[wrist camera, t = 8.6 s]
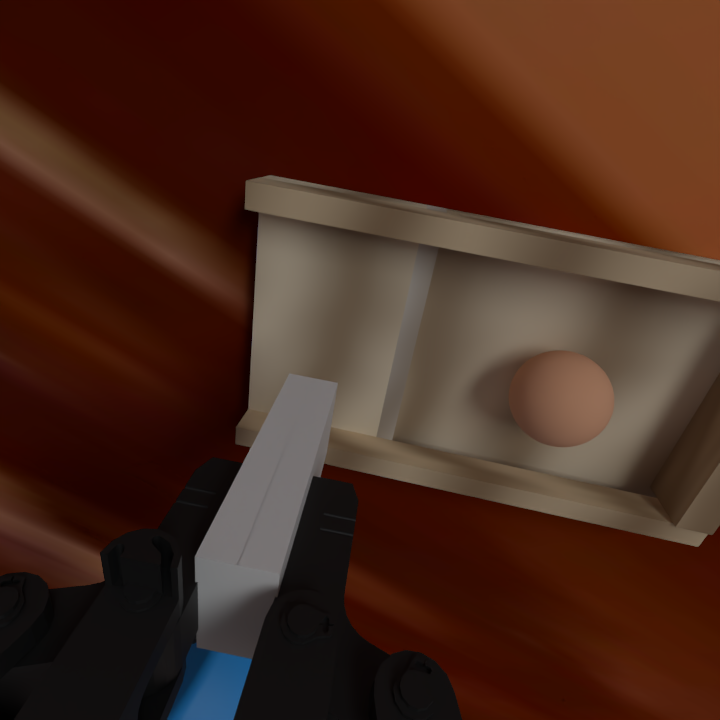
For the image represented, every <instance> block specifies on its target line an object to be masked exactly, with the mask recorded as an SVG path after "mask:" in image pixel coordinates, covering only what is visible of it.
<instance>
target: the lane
mask: <svg viewBox="0 0 720 720" xmlns="http://www.w3.org/2000/svg"><path fill="white" fill-rule="evenodd" d="M245 209H246V210H251V211H256V212H259V221H258V239H257V257H256V276H255V294H254V313H253V331H252V349H251V368H250V386H249V405H248V410H247V412H246V413H245V415H244V416H243V418H242V419H241V421H240V422H239V423H238V425H237V426H236V441H235V444H238V445H243V446H247V447H252V445H253V443H254V441H255V439H256V437H257V435H258V433H259V431H260V429H261V427H262V425H263V424H264V422H265V420H266V418H267V416H268V414H269V412H270V410H271V408H272V406H273V404H274V402H275V400H276V398H277V396H278V394H279V393H280V391H281V389H282V387H283V385H284V383H285V381H286V379H287V377H288V375H289V373H290V374H295V375H300V376H305V377H310V378H315V379H321V380H326V381H331V382H336V383H338V386H337V392H336V398H335V405H334V411H333V417H332V423H331V430H330V436H329V442H328V448H327V454H326V458H325V461H324V464H328V465H333V466H337V467H342V468H346V469H351V470H355V471H360V472H364V473H369V474H373V475H378V476H382V477H387V478H391V479H396V480H400V481H405V482H409V483H414V484H418V485H423V486H427V487H432V488H436V489H441V490H445V491H450V492H454V493H459V494H463V495H468V496H472V497H477V498H481V499H486V500H490V501H495V502H499V503H504V504H508V505H513V506H517V507H522V508H526V509H531V510H535V511H540V512H544V513H549V514H553V515H557V516H562V517H566V518H571V519H575V520H580V521H584V522H589V523H593V524H598V525H602V526H607V527H611V528H616V529H620V530H625V531H629V532H634V533H638V534H643V535H647V536H652V537H656V538H661V539H665V540H670V541H674V542H679V543H683V544H688V545H692V546H697V547H699V545H700V544H701V543H702V541H703V540H704V539H705V537H706V536H707V534H710V535H713V533H714V532H715V531H716V529H717V528H718V527H719V525H720V260H715V259H709V258H704V257H699V256H694V255H688V254H683V253H678V252H672V251H667V250H662V249H657V248H651V247H646V246H641V245H636V244H630V243H625V242H620V241H614V240H609V239H604V238H599V237H593V236H588V235H583V234H578V233H572V232H567V231H562V230H556V229H551V228H546V227H541V226H535V225H530V224H525V223H520V222H514V221H509V220H504V219H498V218H493V217H488V216H483V215H477V214H472V213H467V212H462V211H456V210H451V209H446V208H440V207H435V206H430V205H425V204H419V203H414V202H409V201H404V200H398V199H393V198H388V197H382V196H377V195H372V194H367V193H361V192H356V191H351V190H346V189H340V188H335V187H330V186H324V185H319V184H314V183H309V182H303V181H298V180H293V179H288V178H282V177H277V176H272V175H270V176H265V177H261V178H256V179H252V180H247V181H246V191H245ZM556 350H563V351H571V352H575V353H578V354H581V355H584V356H586V357H588V358H589V359H591V360H592V361H594V362H595V363H596V364H597V365H599V366H600V367H601V368H602V369H603V371H604V372H605V373H606V375H607V376H608V378H609V380H610V382H611V384H612V387H613V391H614V410H613V414H612V416H611V419H610V421H609V423H608V425H607V426H606V427H605V429H604V430H603V431H602V432H601V433H600V434H599V435H598V436H596V437H595V438H593V439H592V440H590V441H588V442H586V443H584V444H581V445H578V446H573V447H554V446H549V445H546V444H543V443H540V442H538V441H536V440H534V439H533V438H531V437H530V436H528V435H527V434H526V433H525V432H524V431H523V430H522V429H521V428H520V427H519V426H518V424H517V423H516V421H515V419H514V417H513V415H512V413H511V410H510V406H509V389H510V384H511V381H512V379H513V377H514V375H515V374H516V372H517V371H518V369H519V368H520V367H521V366H522V365H523V364H524V363H525V362H526V361H528V360H529V359H531V358H532V357H534V356H536V355H539V354H541V353H544V352H549V351H556Z"/></svg>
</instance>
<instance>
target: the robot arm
mask: <svg viewBox="0 0 720 720" xmlns="http://www.w3.org/2000/svg"><path fill="white" fill-rule="evenodd" d="M337 386H338V383H336V382H331V381H326V380H321V379H315V378H310V377H305V376H300V375H295V374H290V373H289V375H288V377H287V379H286V381H285V383H284V385H283V387H282V389H281V391H280V393H279V394H278V396H277V398H276V400H275V402H274V404H273V406H272V408H271V410H270V412H269V414H268V416H267V418H266V420H265V422H264V424H263V425H262V427H261V429H260V431H259V433H258V435H257V437H256V439H255V441H254V443H253V445H252V447H251V449H250V451H249V453H248V454H247V456H246V458H245V460H244V462H243V463H239V462H234V461H229V460H224V459H219V458H214V457H213V458H211V459H210V460H209V461H207V462H206V463H204V464H203V465H202V466H200V467H199V468H198V469H196V470H195V472H194V473H193V475H192V476H191V478H190V480H189V481H188V483H187V484H186V486H185V489H183V490H182V492H181V493H180V495H179V497H178V498H177V501H176V503H174V504H173V506H172V507H171V509H170V511H169V512H168V514H167V515H166V517H165V518H164V520H163V521H162V523H161V524H160V526H159V528H158V529H140V530H136V531H132V532H128V533H126V534H124V535H122V536H120V537H119V538H117V539H115V540H113V541H112V542H111V543H110V544H109V545H108V546H107V547H106V548H104V549H103V550H102V551H101V552H100V555H101V561H102V567H103V573H104V579H105V581H103V582H101V583H96V584H91V585H86V586H76V587H67V588H57V589H48V585H47V583H46V582H45V581H44V580H43V579H42V578H41V577H40V576H38V575H35V574H31V573H27V572H20V573H10V574H5V575H2V576H0V720H167V718H168V716H169V713H170V711H171V708H172V706H173V704H174V701H175V699H176V696H177V694H178V692H179V689H180V687H181V685H182V682H183V679H184V674H185V670H186V657H187V654H188V652H189V650H190V647H191V645H192V643H193V640H194V638H195V636H196V640H197V648H202V649H207V650H211V651H216V652H221V653H226V654H230V655H235V656H240V657H245V658H250V659H252V661H251V664H250V668H249V671H248V674H247V677H246V681H245V684H244V687H243V690H242V693H241V697H240V700H239V703H238V706H237V710H236V713H235V716H234V719H233V720H462V718H461V714H460V711H459V707H458V703H457V700H456V696H455V693H454V690H453V688H452V685H451V683H450V681H449V679H448V676H447V674H446V673H445V672H444V671H443V670H442V669H441V667H440V666H439V665H438V664H437V663H436V662H435V661H434V660H432V659H431V658H429V657H427V656H426V655H424V654H422V653H420V652H414V651H408V650H405V651H401V652H397V653H394V654H391V655H389V654H387V653H386V652H384V651H382V650H381V649H379V648H377V647H376V646H374V645H372V644H371V643H369V642H368V641H366V640H365V639H364V638H362V637H361V636H360V635H359V634H358V633H357V632H356V630H355V629H354V628H353V627H352V625H351V624H350V622H349V620H348V618H347V616H346V611H345V607H344V593H345V586H346V579H347V573H348V566H349V559H350V553H351V546H352V540H353V533H354V526H355V520H356V513H357V507H358V498H357V496H356V493H355V490H354V487H353V484H351V483H346V482H341V481H336V480H331V479H326V478H321V477H320V476H321V472H322V469H323V465H324V461H325V458H326V454H327V448H328V442H329V436H330V430H331V423H332V417H333V411H334V405H335V398H336V392H337Z"/></svg>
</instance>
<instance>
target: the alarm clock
mask: <svg viewBox="0 0 720 720" xmlns="http://www.w3.org/2000/svg"><path fill="white" fill-rule="evenodd" d="M251 661H252V659H250V658H245V657H240V656H235V655H230V654H226V653H221V652H216V651H211V650H207V649H202V648H197V640H196V636H195V638H194V640H193V643H192V645H191V647H190V650H189V652H188V654H187V657H186V670H185V674H184V679H183V682H182V685H181V687H180V689H179V692H178V694H177V696H176V699H175V701H174V704H173V706H172V708H171V711H170V713H169V716H168V718H167V720H233V719H234V716H235V713H236V710H237V706H238V703H239V700H240V697H241V693H242V690H243V687H244V684H245V681H246V677H247V674H248V671H249V668H250V664H251Z"/></svg>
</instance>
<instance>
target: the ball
mask: <svg viewBox="0 0 720 720" xmlns="http://www.w3.org/2000/svg"><path fill="white" fill-rule="evenodd" d="M509 406H510V410H511V413H512V415H513V417H514V419H515V421H516V423H517V424H518V426H519V427H520V428H521V429H522V430H523V431H524V432H525V433H526V434H527V435H528V436H530V437H531V438H533V439H534V440H536V441H538V442H540V443H543V444H546V445H549V446H554V447H573V446H578V445H581V444H584V443H586V442H588V441H590V440H592V439H593V438H595V437H596V436H598V435H599V434H600V433H601V432H602V431H603V430H604V429H605V427H606V426H607V425H608V423H609V421H610V419H611V416H612V414H613V410H614V391H613V387H612V384H611V382H610V380H609V378H608V376H607V375H606V373H605V372H604V371H603V369H602V368H601V367H600V366H599V365H597V364H596V363H595V362H594V361H592V360H591V359H589V358H588V357H586V356H584V355H581V354H578V353H575V352H571V351H563V350H556V351H549V352H544V353H541V354H539V355H536V356H534V357H532V358H531V359H529V360H528V361H526V362H525V363H524V364H523V365H522V366H521V367H520V368H519V369H518V371H517V372H516V374H515V375H514V377H513V379H512V381H511V384H510V389H509Z"/></svg>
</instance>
